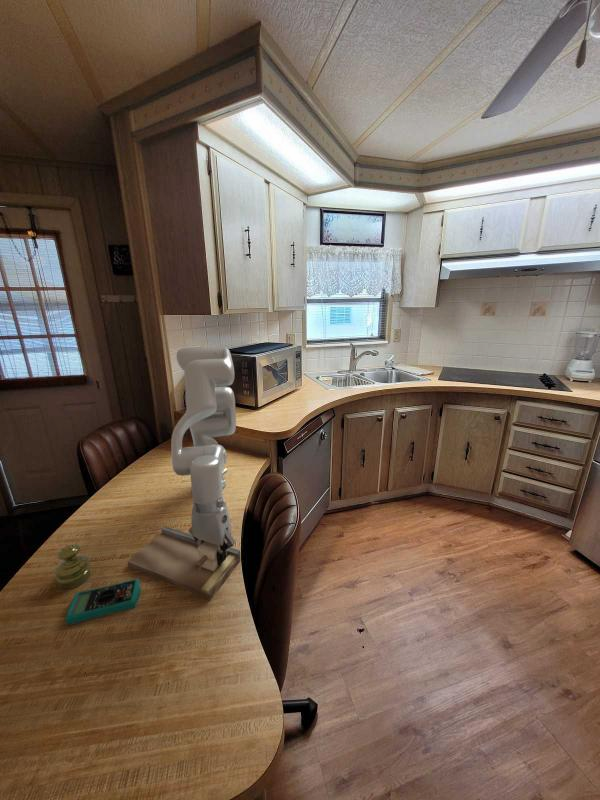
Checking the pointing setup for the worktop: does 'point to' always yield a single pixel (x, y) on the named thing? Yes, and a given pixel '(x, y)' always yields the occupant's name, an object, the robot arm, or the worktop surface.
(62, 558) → the brass pawn finial
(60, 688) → the worktop surface
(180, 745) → the worktop surface
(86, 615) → the digital multimeter
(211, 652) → the worktop surface
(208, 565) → the block with top hole
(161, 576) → the board
